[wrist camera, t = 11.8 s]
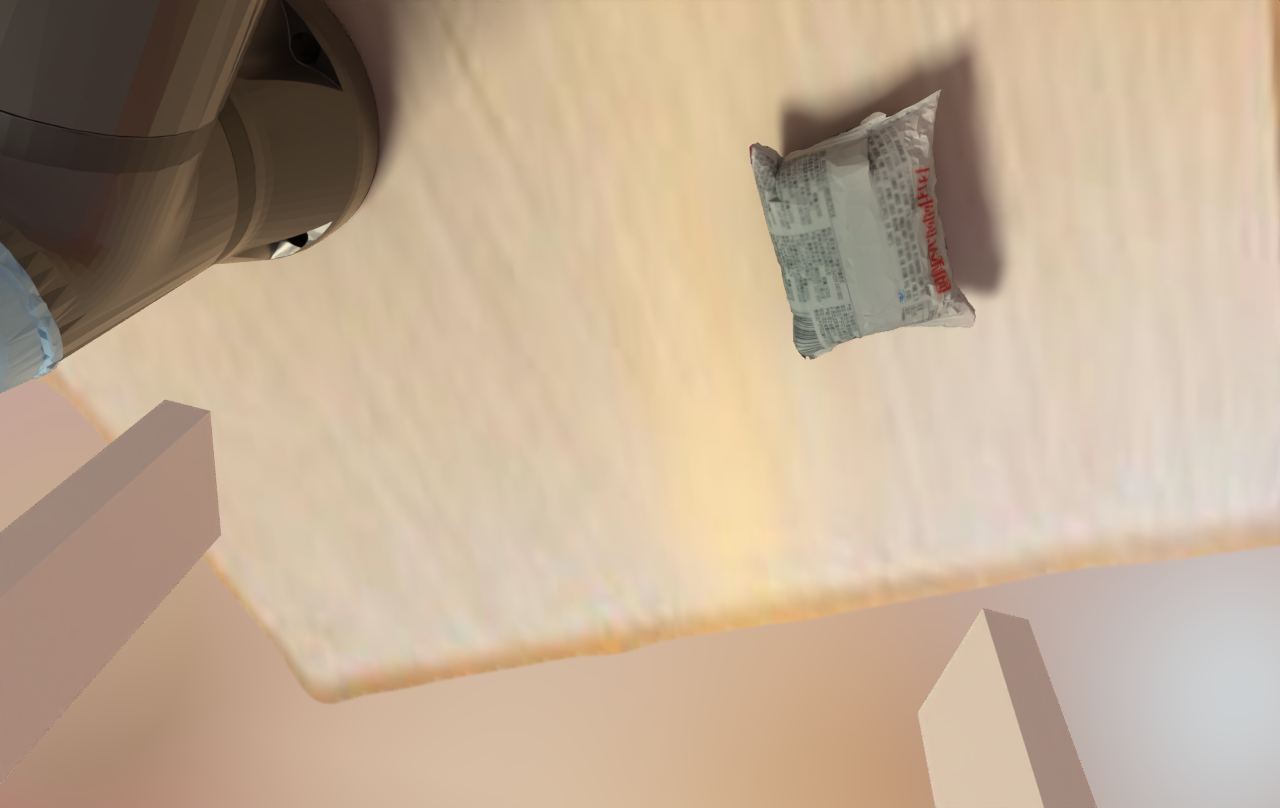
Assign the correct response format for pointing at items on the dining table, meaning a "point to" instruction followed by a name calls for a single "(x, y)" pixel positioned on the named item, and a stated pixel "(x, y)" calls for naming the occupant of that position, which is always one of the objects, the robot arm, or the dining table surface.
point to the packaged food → (861, 231)
